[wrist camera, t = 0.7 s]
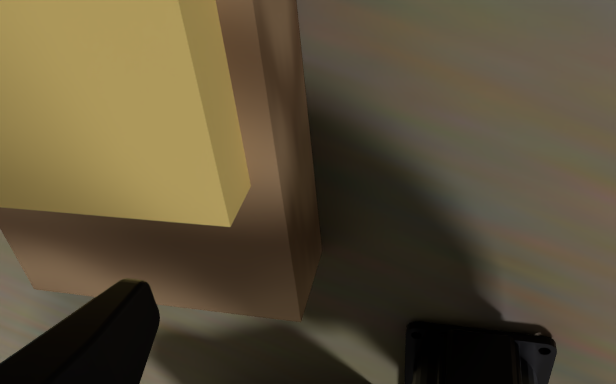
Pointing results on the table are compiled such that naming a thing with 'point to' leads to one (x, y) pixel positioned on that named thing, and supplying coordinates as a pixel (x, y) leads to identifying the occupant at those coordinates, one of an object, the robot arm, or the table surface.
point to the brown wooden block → (206, 238)
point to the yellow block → (119, 111)
